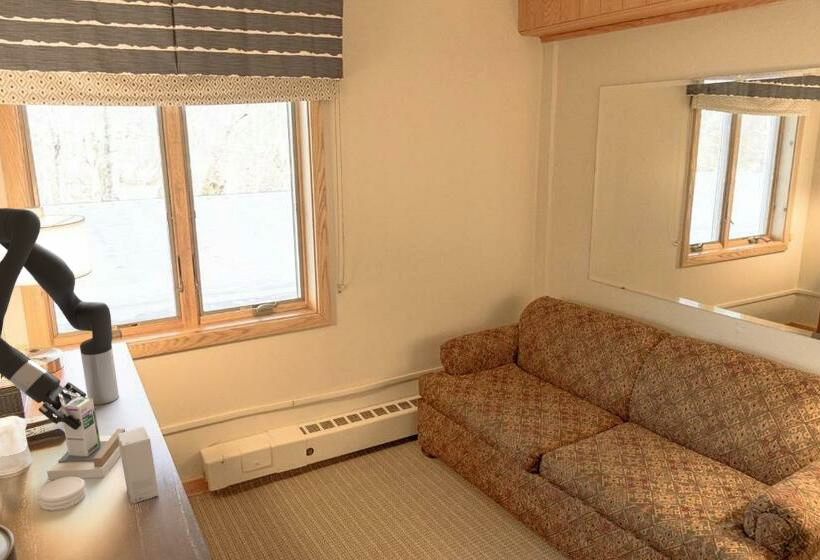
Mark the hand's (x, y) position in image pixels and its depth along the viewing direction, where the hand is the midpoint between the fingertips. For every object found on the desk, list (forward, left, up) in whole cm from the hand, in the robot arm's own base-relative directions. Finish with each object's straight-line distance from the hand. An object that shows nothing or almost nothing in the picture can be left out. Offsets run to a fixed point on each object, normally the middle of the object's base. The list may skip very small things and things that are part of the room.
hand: (86, 419), depth 169 cm
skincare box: (+17, +19, -12) cm, 28 cm away
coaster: (+18, +1, -13) cm, 22 cm away
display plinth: (0, 0, -12) cm, 12 cm away
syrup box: (0, -2, -9) cm, 10 cm away
